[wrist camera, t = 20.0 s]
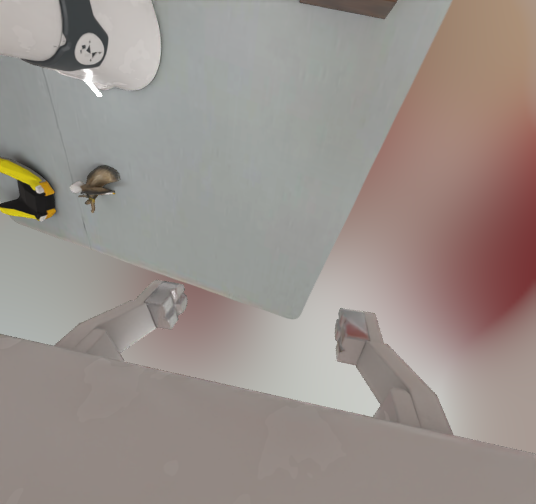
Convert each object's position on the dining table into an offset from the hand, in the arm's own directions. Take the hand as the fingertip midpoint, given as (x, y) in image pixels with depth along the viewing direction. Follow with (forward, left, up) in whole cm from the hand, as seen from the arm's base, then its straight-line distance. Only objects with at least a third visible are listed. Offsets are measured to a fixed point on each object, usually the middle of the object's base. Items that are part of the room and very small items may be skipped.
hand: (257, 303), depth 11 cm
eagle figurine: (-26, -34, -33) cm, 54 cm away
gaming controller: (-39, -51, -33) cm, 72 cm away
